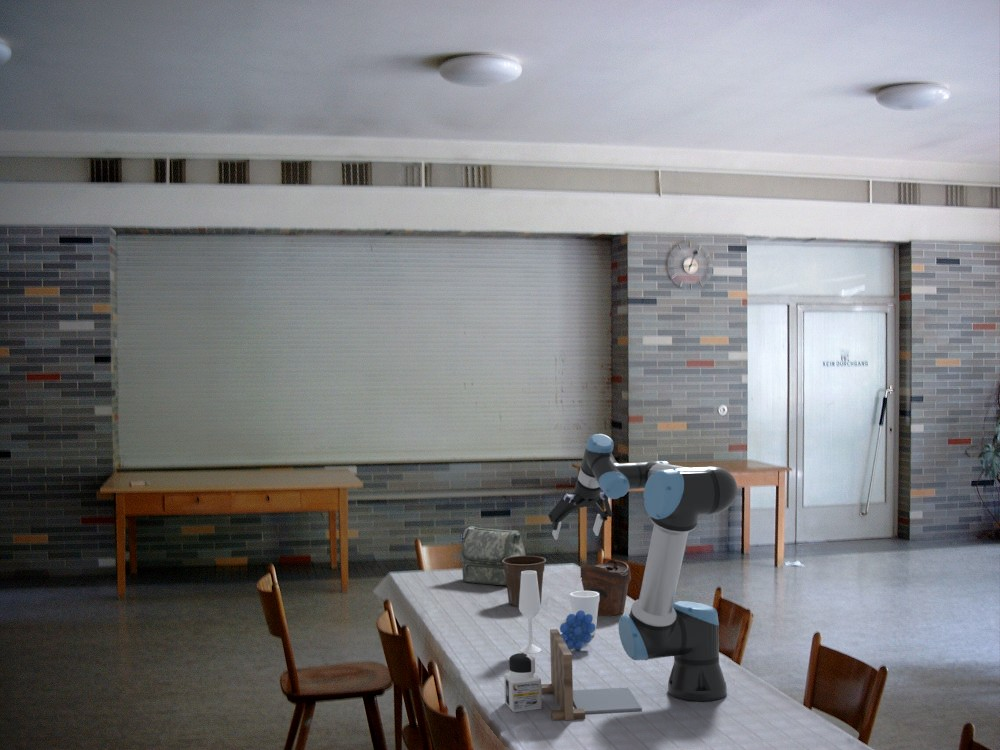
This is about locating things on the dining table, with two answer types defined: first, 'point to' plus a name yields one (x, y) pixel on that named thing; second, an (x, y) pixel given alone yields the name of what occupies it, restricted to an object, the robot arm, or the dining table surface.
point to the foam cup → (585, 604)
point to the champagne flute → (529, 604)
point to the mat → (605, 700)
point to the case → (607, 585)
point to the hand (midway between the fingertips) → (575, 534)
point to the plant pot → (513, 574)
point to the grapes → (577, 630)
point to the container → (522, 684)
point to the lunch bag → (488, 554)
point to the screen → (561, 679)
